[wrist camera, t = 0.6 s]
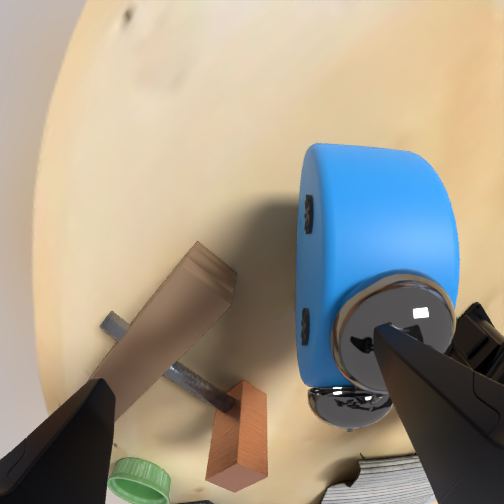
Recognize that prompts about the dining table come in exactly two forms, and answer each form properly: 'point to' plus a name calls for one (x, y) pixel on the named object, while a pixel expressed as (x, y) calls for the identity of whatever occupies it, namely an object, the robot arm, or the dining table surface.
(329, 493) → the mat
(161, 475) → the ramekin
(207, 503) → the small box
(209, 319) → the beam
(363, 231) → the alarm clock
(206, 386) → the pin
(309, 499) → the dining table surface
